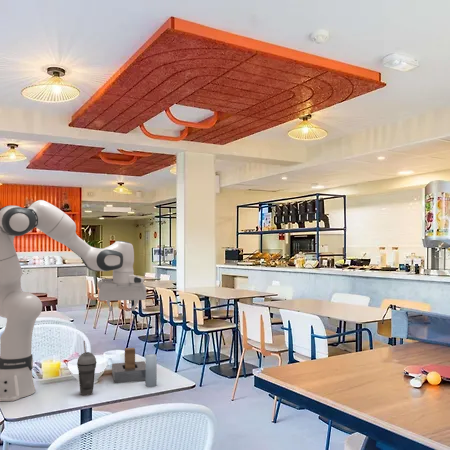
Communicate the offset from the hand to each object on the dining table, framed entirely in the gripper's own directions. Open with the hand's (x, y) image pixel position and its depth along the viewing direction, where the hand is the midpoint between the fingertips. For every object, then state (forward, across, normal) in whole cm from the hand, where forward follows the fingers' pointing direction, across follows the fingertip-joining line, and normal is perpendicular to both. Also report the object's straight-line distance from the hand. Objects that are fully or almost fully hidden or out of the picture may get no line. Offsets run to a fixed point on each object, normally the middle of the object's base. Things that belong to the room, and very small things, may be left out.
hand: (122, 310), depth 207 cm
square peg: (+28, +4, -2) cm, 28 cm away
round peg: (+28, +11, -16) cm, 34 cm away
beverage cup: (+29, -14, -19) cm, 37 cm away
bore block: (+28, +4, -2) cm, 28 cm away
